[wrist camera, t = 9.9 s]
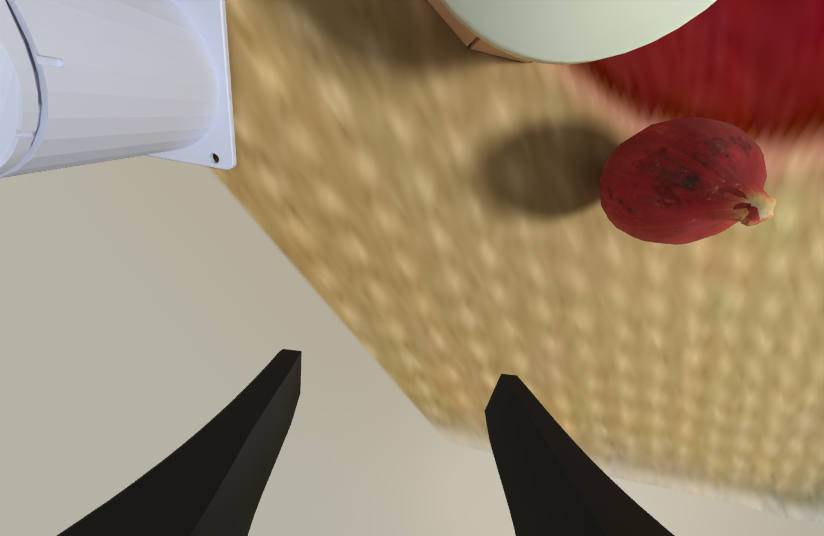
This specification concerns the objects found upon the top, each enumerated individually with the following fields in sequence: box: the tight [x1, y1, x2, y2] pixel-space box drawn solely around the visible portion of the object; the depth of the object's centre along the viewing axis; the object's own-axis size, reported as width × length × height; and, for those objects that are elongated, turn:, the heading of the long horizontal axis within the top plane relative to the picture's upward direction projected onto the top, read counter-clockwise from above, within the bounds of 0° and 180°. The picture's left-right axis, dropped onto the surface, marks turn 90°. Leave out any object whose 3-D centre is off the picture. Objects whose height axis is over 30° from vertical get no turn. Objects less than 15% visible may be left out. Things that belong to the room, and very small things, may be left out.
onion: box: [599, 116, 777, 245], centre depth 14 cm, size 6×6×8 cm
